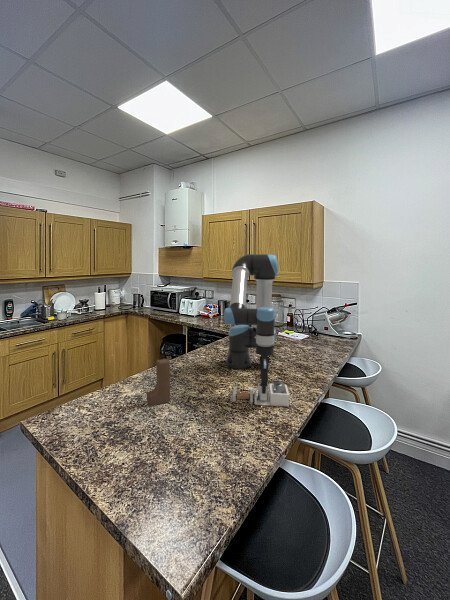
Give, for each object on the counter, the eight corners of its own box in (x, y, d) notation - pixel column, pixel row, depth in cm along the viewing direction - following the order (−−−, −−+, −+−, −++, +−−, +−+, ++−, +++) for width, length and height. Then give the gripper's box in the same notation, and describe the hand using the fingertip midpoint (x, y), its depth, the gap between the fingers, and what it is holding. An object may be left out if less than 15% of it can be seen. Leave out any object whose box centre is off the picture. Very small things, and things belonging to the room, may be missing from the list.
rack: (254, 396, 127) (254, 382, 126) (285, 398, 126) (286, 384, 125) (254, 407, 117) (254, 392, 116) (288, 409, 116) (289, 394, 115)
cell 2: (273, 397, 123) (273, 379, 122) (283, 397, 123) (283, 380, 122) (273, 402, 119) (274, 384, 118) (284, 402, 118) (285, 384, 117)
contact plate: (236, 397, 125) (237, 392, 125) (249, 398, 125) (249, 392, 124) (236, 400, 122) (236, 395, 122) (249, 401, 121) (249, 396, 121)
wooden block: (149, 407, 116) (148, 365, 114) (146, 402, 120) (145, 361, 118) (170, 401, 121) (169, 361, 119) (166, 397, 125) (166, 358, 123)
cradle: (233, 394, 128) (233, 386, 128) (252, 395, 127) (252, 387, 127) (232, 404, 119) (232, 395, 119) (252, 405, 119) (253, 396, 118)
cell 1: (257, 396, 124) (258, 379, 123) (267, 397, 123) (268, 379, 122) (257, 401, 119) (257, 383, 118) (267, 402, 119) (268, 383, 118)
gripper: (255, 338, 127) (254, 387, 130) (256, 350, 110) (254, 406, 113) (272, 339, 127) (270, 388, 129) (275, 350, 109) (273, 407, 112)
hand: (263, 396), depth 121 cm, fingers closed on cell 1, 4 cm apart
